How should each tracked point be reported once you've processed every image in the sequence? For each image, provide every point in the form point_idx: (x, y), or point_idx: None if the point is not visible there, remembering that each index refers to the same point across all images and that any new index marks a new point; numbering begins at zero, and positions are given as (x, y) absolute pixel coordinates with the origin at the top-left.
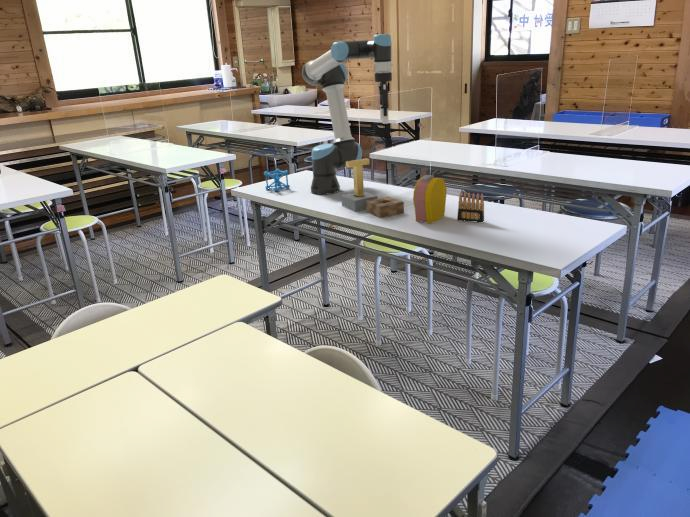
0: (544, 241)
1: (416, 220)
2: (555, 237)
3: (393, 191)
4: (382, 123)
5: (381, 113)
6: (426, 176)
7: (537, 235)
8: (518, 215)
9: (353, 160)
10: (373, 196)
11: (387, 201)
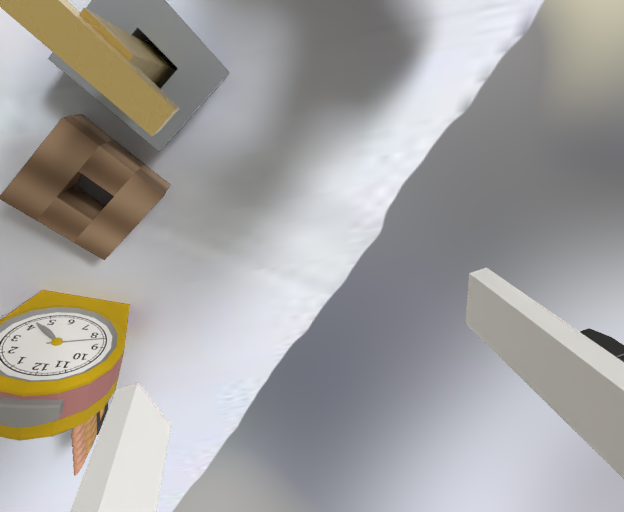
0: (17, 497)
1: (41, 292)
2: (51, 501)
3: (362, 164)
4: (115, 394)
5: (527, 332)
6: (2, 416)
7: (50, 484)
8: (173, 442)
9: (61, 7)
10: (147, 137)
11: (109, 201)
